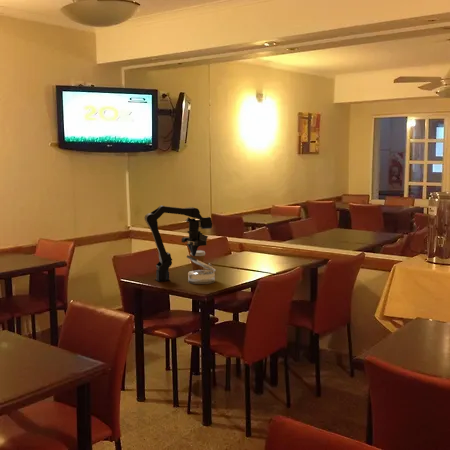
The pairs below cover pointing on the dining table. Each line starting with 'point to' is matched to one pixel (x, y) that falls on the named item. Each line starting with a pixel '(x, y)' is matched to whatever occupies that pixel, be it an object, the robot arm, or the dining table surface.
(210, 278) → the pot
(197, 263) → the lid
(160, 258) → the robot arm
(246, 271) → the dining table surface
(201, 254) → the disposable coffee cup
